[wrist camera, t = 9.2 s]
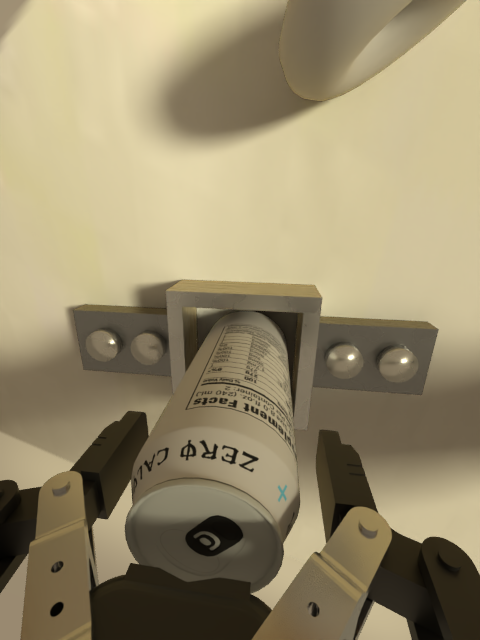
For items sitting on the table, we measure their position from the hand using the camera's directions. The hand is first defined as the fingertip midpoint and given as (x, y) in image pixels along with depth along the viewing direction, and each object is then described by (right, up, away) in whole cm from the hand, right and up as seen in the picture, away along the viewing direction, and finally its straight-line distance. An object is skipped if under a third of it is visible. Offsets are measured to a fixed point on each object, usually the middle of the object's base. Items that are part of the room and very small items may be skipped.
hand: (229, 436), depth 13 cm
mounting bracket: (+1, +3, +9) cm, 10 cm away
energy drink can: (+1, +3, +10) cm, 10 cm away
